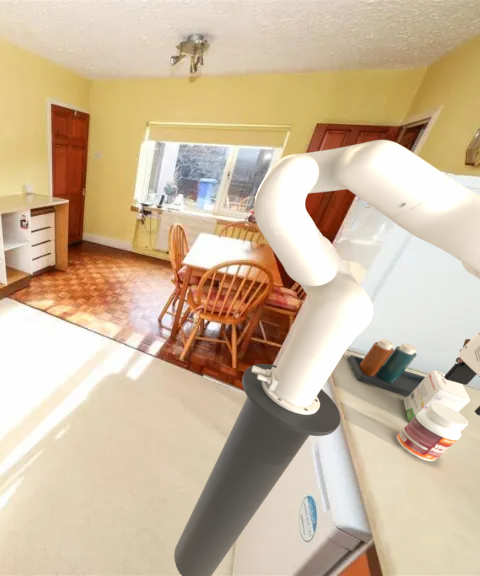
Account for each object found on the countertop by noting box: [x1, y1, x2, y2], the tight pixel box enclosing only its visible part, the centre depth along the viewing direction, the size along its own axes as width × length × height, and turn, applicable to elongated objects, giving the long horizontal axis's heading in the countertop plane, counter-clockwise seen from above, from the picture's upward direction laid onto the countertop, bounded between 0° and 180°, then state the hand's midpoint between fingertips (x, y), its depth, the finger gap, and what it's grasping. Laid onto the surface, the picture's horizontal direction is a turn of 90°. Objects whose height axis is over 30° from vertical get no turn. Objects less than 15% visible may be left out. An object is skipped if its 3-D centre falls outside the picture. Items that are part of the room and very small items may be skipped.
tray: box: [347, 354, 426, 397], centre depth 77 cm, size 19×11×2 cm, turn 62°
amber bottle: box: [359, 338, 395, 376], centre depth 77 cm, size 4×4×11 cm
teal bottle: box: [377, 342, 418, 383], centre depth 76 cm, size 4×4×12 cm
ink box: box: [403, 369, 471, 423], centre depth 64 cm, size 8×5×12 cm, turn 139°
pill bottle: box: [396, 403, 469, 462], centre depth 57 cm, size 6×6×11 cm
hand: (469, 397), depth 52 cm, fingers open, 9 cm apart
